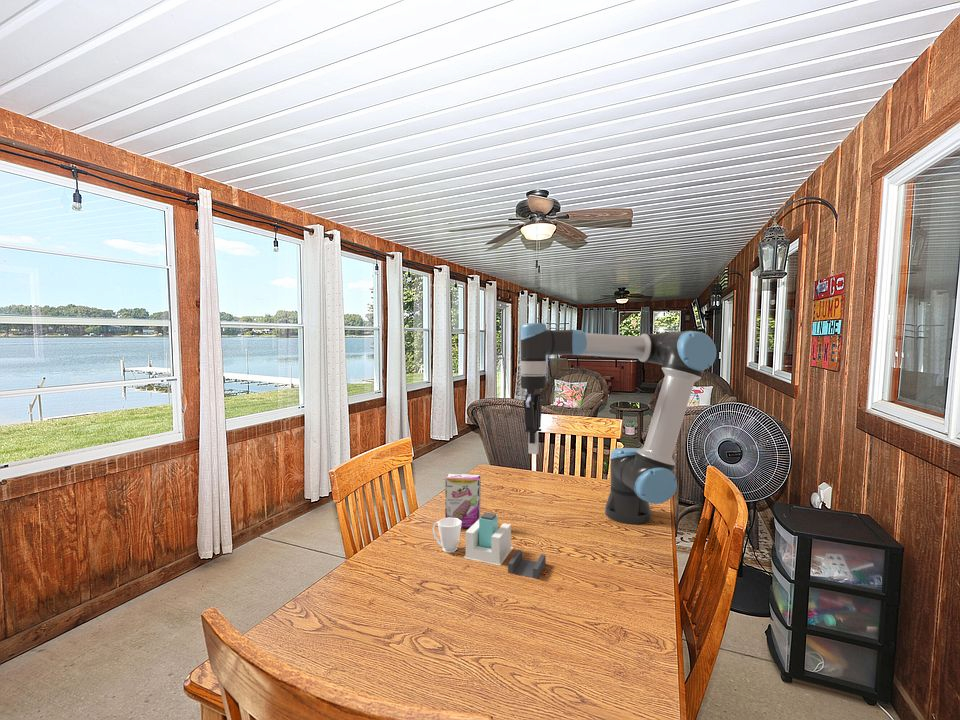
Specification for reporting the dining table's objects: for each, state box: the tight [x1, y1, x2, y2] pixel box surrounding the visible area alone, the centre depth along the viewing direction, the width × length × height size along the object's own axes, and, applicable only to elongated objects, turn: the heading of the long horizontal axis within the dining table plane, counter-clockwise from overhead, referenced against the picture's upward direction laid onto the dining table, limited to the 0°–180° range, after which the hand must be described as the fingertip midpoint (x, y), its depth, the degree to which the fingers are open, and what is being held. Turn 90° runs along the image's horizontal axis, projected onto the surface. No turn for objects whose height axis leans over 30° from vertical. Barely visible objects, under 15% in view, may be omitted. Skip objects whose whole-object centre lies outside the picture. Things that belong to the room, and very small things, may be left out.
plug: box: [479, 512, 499, 549], centre depth 124 cm, size 4×4×11 cm
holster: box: [507, 549, 547, 580], centre depth 115 cm, size 8×8×3 cm
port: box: [462, 519, 514, 567], centre depth 124 cm, size 11×11×8 cm
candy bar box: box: [444, 473, 482, 529], centre depth 143 cm, size 11×5×16 cm, turn 84°
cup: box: [431, 517, 462, 554], centre depth 128 cm, size 7×10×8 cm
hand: (533, 453), depth 132 cm, fingers closed
